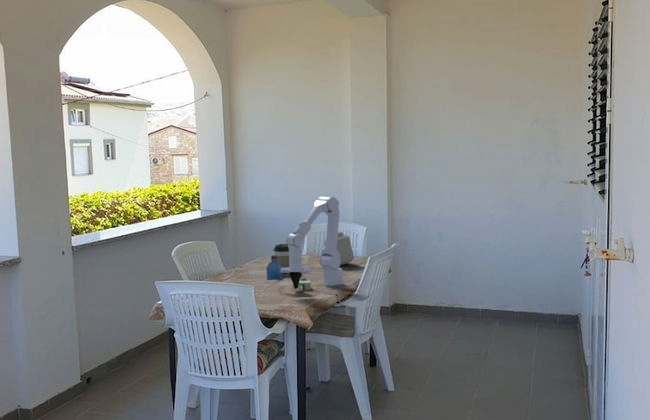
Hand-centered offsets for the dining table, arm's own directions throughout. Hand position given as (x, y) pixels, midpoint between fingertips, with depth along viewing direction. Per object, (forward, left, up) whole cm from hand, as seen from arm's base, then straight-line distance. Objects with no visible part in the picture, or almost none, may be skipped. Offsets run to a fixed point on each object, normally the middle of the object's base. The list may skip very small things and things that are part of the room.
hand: (296, 288), depth 283 cm
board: (-1, -3, -2) cm, 4 cm away
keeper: (-5, -2, -1) cm, 6 cm away
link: (-4, -4, -1) cm, 6 cm away
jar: (-43, -57, -3) cm, 71 cm away
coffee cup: (-9, -50, -3) cm, 51 cm away
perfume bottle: (0, -37, -3) cm, 37 cm away
